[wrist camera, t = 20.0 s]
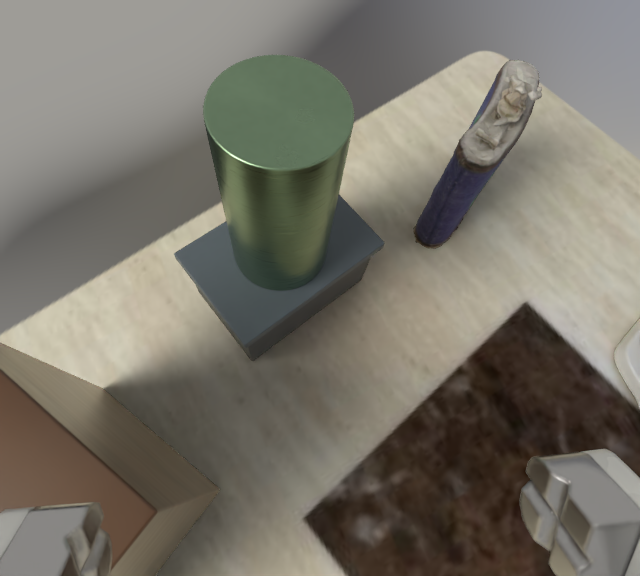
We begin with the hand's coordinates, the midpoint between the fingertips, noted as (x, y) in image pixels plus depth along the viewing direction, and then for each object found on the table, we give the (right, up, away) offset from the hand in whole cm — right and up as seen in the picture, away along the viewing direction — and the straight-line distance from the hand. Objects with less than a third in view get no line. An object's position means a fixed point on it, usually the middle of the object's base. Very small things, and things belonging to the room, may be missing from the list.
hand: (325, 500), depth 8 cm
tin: (-2, +6, +15) cm, 17 cm away
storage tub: (-3, +4, +20) cm, 21 cm away
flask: (+9, +10, +24) cm, 28 cm away
